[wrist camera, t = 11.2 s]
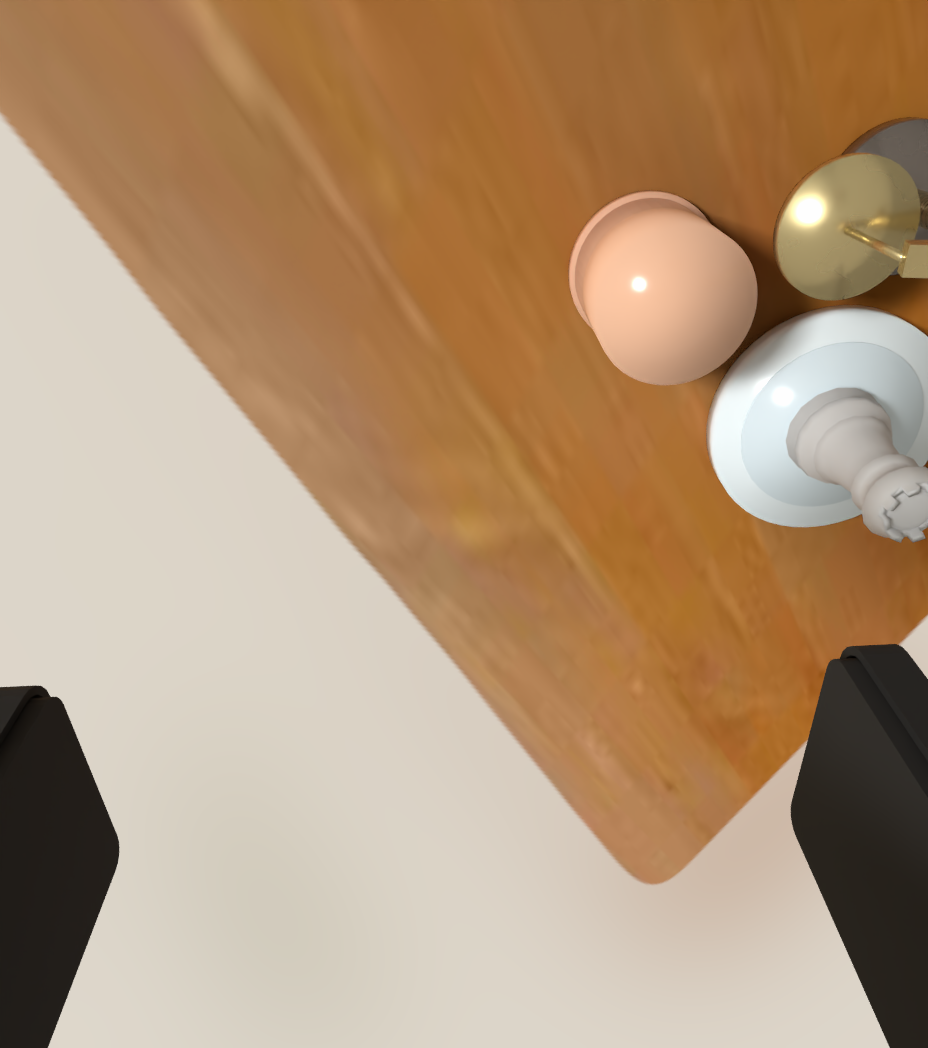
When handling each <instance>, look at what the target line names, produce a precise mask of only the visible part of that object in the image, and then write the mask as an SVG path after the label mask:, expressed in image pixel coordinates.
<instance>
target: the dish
mask: <svg viewBox="0 0 928 1048" xmlns="http://www.w3.org/2000/svg"><path fill="white" fill-rule="evenodd" d="M835 388H858V389H860V390H862V391H865V392H867V393H869V394H871V395H872V396H873V397H874V398H875V400H876V401H877V402H878V403H879V404H880V405H881V406H882V407H883V409H884V410H885V411H886V413H887V414H888V415H889V418H890V420H891V427H892V435H893V437H892V441H893V445H894V447H895V448H896V450H897V451H898V453H899V454H903V455H905V456H908V457H910V458H912V459H914V460H915V462H916V463H917V464H918V466H919V467H923V466H924V465H925V464H926V462H927V461H928V337H927V336H926V335H925V334H924V333H922V332H921V331H920V330H918V329H917V328H916V327H914V326H913V325H911V324H909V323H908V322H906V321H905V320H903V319H901V318H900V317H898V316H896V315H894V314H892V313H890V312H887V311H884V310H881V309H878V308H874V307H868V306H862V305H838V306H829V307H824V308H820V309H816V310H811V311H809V312H806V313H803V314H800V315H797V316H795V317H793V318H791V319H789V320H787V321H785V322H783V323H781V324H779V325H777V326H776V327H774V328H773V329H771V330H769V331H768V332H766V333H765V334H764V335H762V336H761V337H760V338H759V339H757V340H756V341H755V342H753V343H752V344H751V345H750V346H749V347H748V348H747V349H746V350H745V351H744V352H743V353H742V354H741V355H740V356H739V357H738V359H737V360H736V361H735V362H734V364H733V365H732V366H731V367H730V369H729V370H728V372H727V373H726V375H725V376H724V378H723V379H722V381H721V383H720V385H719V387H718V389H717V391H716V393H715V395H714V398H713V401H712V404H711V407H710V410H709V415H708V420H707V428H706V442H707V451H708V455H709V459H710V462H711V465H712V467H713V469H714V472H715V473H716V475H717V477H718V478H719V480H720V481H721V483H722V485H723V486H724V488H725V489H726V491H727V493H728V494H729V495H730V496H731V498H732V499H733V500H734V501H735V502H736V503H737V504H738V505H739V506H741V507H742V508H743V509H744V510H745V511H747V512H749V513H750V514H752V515H754V516H756V517H757V518H760V519H762V520H765V521H767V522H770V523H774V524H778V525H783V526H791V527H815V526H824V525H829V524H833V523H838V522H841V521H844V520H847V519H851V518H853V517H856V516H858V515H860V514H862V510H860V509H859V508H858V507H857V506H856V505H855V504H854V502H853V501H852V495H851V492H849V491H848V490H846V489H845V488H844V487H842V486H841V485H835V484H832V483H824V482H821V481H819V480H817V479H814V478H812V477H809V476H807V475H806V474H805V472H804V471H803V470H802V469H801V468H798V466H797V465H796V464H795V463H794V462H793V461H792V459H791V458H790V457H789V455H788V450H787V445H786V437H787V433H788V429H789V425H790V423H791V421H792V420H793V418H794V417H795V415H796V414H797V412H798V411H799V410H800V408H801V407H802V406H803V405H805V404H806V403H807V402H809V401H810V400H811V399H813V398H814V397H815V396H817V395H818V394H821V393H824V392H827V391H829V390H832V389H835Z"/></svg>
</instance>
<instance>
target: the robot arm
mask: <svg viewBox="0 0 928 1048" xmlns="http://www.w3.org/2000/svg"><path fill="white" fill-rule="evenodd" d="M791 820H792V825H793V829H794V832H795V835H796V837H797V840H798V842H799V844H800V846H801V849H802V851H803V853H804V855H805V858H806V860H807V862H808V864H809V867H810V869H811V871H812V873H813V876H814V878H815V880H816V882H817V884H818V887H819V889H820V891H821V894H822V896H823V898H824V900H825V903H826V905H827V907H828V910H829V912H830V914H831V916H832V919H833V921H834V923H835V925H836V928H837V930H838V932H839V934H840V937H841V939H842V941H843V943H844V946H845V948H846V950H847V952H848V955H849V957H850V959H851V961H852V964H853V965H854V968H855V970H856V972H857V975H858V977H859V979H860V981H861V983H862V986H863V988H864V991H865V993H866V995H867V997H868V1000H869V1002H870V1004H871V1006H872V1009H873V1011H874V1013H875V1015H876V1018H877V1020H878V1022H879V1024H880V1027H881V1029H882V1031H883V1033H884V1036H885V1038H886V1040H887V1042H888V1044H889V1047H890V1048H928V679H927V678H926V676H925V675H924V674H923V672H922V671H921V670H920V668H919V667H918V666H917V664H916V663H915V662H914V661H913V659H912V658H911V657H910V655H909V654H908V652H907V651H905V650H904V648H903V647H901V646H899V645H897V644H888V645H867V646H850V647H847V648H846V649H845V650H844V651H843V652H842V654H841V657H840V659H833V660H831V661H830V662H829V664H828V666H827V669H826V673H825V677H824V681H823V685H822V689H821V692H820V696H819V700H818V704H817V708H816V711H815V715H814V719H813V723H812V727H811V730H810V734H809V738H808V742H807V746H806V750H805V753H804V757H803V761H802V765H801V769H800V772H799V776H798V780H797V784H796V788H795V791H794V795H793V799H792V804H791ZM118 858H119V841H118V837H117V834H116V832H115V829H114V827H113V824H112V822H111V819H110V817H109V814H108V812H107V810H106V807H105V805H104V802H103V800H102V797H101V795H100V793H99V790H98V788H97V785H96V783H95V780H94V778H93V775H92V773H91V770H90V768H89V765H88V763H87V761H86V758H85V756H84V753H83V751H82V749H81V746H80V743H79V741H78V739H77V736H76V734H75V731H74V729H73V726H72V724H71V721H70V719H69V717H68V714H67V712H66V709H65V707H64V704H63V703H62V701H61V700H60V699H59V698H58V697H50V695H49V694H48V692H47V690H46V689H45V688H43V687H42V686H19V687H0V1048H48V1046H49V1043H50V1040H51V1038H52V1035H53V1033H54V1030H55V1027H56V1025H57V1022H58V1020H59V1017H60V1014H61V1012H62V1009H63V1006H64V1004H65V1001H66V999H67V996H68V993H69V990H70V988H71V985H72V983H73V980H74V977H75V975H76V972H77V970H78V967H79V965H80V962H81V959H82V957H83V954H84V951H85V949H86V946H87V944H88V941H89V938H90V936H91V933H92V931H93V928H94V925H95V923H96V920H97V917H98V914H99V912H100V909H101V907H102V904H103V902H104V899H105V896H106V894H107V891H108V888H109V886H110V883H111V881H112V878H113V875H114V873H115V870H116V867H117V864H118Z"/></svg>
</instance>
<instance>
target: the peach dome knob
mask: <svg viewBox="0 0 928 1048" xmlns="http://www.w3.org/2000/svg"><path fill="white" fill-rule="evenodd" d="M568 281H569V287H570V292H571V295H572V299H573V301H574V303H575V305H576V308H577V310H578V312H579V313H580V315H581V316H582V318H583V319H584V320H585V321H586V323H587V324H588V325H589V326H590V327H591V328H592V329H593V330H594V332H595V334H596V336H597V338H598V340H599V342H600V344H601V346H602V348H603V350H604V351H605V353H606V354H607V356H608V358H609V359H610V360H611V361H612V362H613V364H614V365H615V366H616V367H617V368H619V369H620V370H621V371H622V372H624V373H625V374H627V375H628V376H630V377H632V378H634V379H636V380H639V381H642V382H645V383H649V384H655V385H675V384H681V383H686V382H689V381H692V380H695V379H698V378H700V377H702V376H704V375H706V374H708V373H710V372H711V371H713V370H715V369H716V368H718V367H719V366H720V365H721V364H723V363H724V362H725V361H726V360H727V359H728V358H729V357H730V356H731V355H732V354H733V353H734V352H735V351H736V350H737V348H738V347H739V346H740V345H741V343H742V341H743V340H744V338H745V337H746V335H747V333H748V331H749V329H750V327H751V324H752V321H753V319H754V315H755V311H756V307H757V297H758V293H757V281H756V276H755V273H754V270H753V267H752V264H751V262H750V260H749V258H748V256H747V255H746V254H745V252H744V251H743V250H742V248H741V247H740V246H739V245H738V244H737V243H736V242H735V241H734V240H732V239H731V238H729V237H728V236H727V235H725V234H724V233H722V232H721V231H720V230H718V229H717V228H715V227H714V226H713V225H711V224H710V223H709V221H708V220H707V218H706V217H705V216H704V214H703V213H702V212H701V211H700V210H699V209H698V208H696V207H695V206H694V205H692V204H691V203H690V202H688V201H687V200H685V199H683V198H681V197H679V196H677V195H675V194H672V193H669V192H664V191H658V190H645V191H637V192H633V193H629V194H626V195H623V196H621V197H618V198H616V199H615V200H613V201H611V202H609V203H608V204H606V205H605V206H603V207H602V208H601V209H600V210H598V211H597V212H596V213H595V214H594V215H593V216H592V217H591V218H590V219H589V221H588V222H587V223H586V224H585V226H584V227H583V229H582V230H581V232H580V233H579V235H578V237H577V239H576V241H575V244H574V246H573V249H572V252H571V256H570V260H569V269H568Z"/></svg>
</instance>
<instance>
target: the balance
mask: <svg viewBox="0 0 928 1048" xmlns="http://www.w3.org/2000/svg"><path fill="white" fill-rule="evenodd" d="M773 251H774V257H775V260H776V263H777V266H778V268H779V270H780V272H781V274H782V275H783V276H784V278H785V279H786V280H787V281H788V282H789V283H790V284H791V285H792V286H794V287H795V288H796V289H798V290H799V291H801V292H802V293H804V294H806V295H808V296H810V297H813V298H816V299H821V300H842V299H847V298H851V297H854V296H857V295H860V294H862V293H864V292H866V291H868V290H870V289H872V288H873V287H875V286H877V285H878V284H879V283H881V282H882V281H883V280H885V279H886V278H887V277H888V276H889V275H896V274H899V275H900V276H901V277H902V278H928V119H924V118H916V117H907V118H899V119H895V120H891V121H888V122H885V123H883V124H880V125H878V126H876V127H874V128H872V129H870V130H869V131H867V132H866V133H864V134H863V135H861V136H860V137H859V138H858V139H856V140H855V141H854V142H853V143H852V144H851V145H850V146H849V147H848V148H847V149H846V150H845V151H844V152H843V153H842V155H841V156H838V157H835V158H832V159H830V160H828V161H826V162H824V163H822V164H820V165H819V166H817V167H816V168H814V169H813V170H811V171H810V172H809V173H808V174H807V175H805V176H804V177H803V178H802V179H801V180H800V181H799V182H798V183H797V184H796V185H795V187H794V188H793V189H792V191H791V192H790V193H789V195H788V196H787V198H786V200H785V201H784V203H783V205H782V207H781V209H780V211H779V214H778V217H777V220H776V223H775V228H774V234H773Z"/></svg>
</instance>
